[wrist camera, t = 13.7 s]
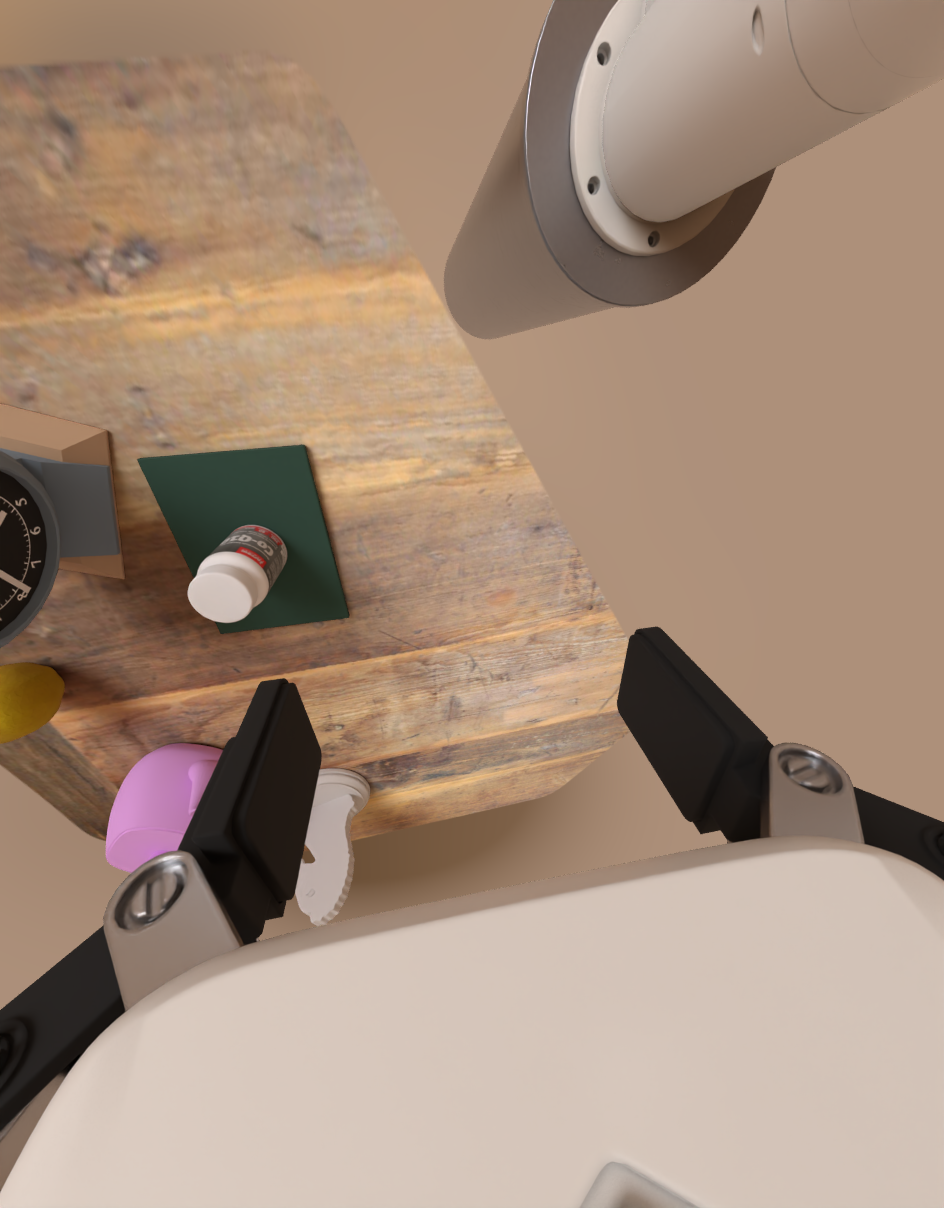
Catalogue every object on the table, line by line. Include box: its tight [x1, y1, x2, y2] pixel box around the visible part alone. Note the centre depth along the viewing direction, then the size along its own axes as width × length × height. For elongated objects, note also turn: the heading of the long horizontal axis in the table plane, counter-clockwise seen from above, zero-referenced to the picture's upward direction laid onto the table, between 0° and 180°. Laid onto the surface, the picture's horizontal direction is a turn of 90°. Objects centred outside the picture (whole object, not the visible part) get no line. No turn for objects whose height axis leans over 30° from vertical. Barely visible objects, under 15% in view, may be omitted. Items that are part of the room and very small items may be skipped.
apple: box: [0, 662, 65, 744], centre depth 34 cm, size 6×6×8 cm
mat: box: [137, 445, 349, 634], centre depth 34 cm, size 16×12×1 cm
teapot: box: [106, 743, 223, 873], centre depth 42 cm, size 13×20×11 cm
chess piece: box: [295, 768, 370, 926], centre depth 46 cm, size 10×10×15 cm
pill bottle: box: [188, 525, 287, 623], centre depth 30 cm, size 5×5×8 cm
